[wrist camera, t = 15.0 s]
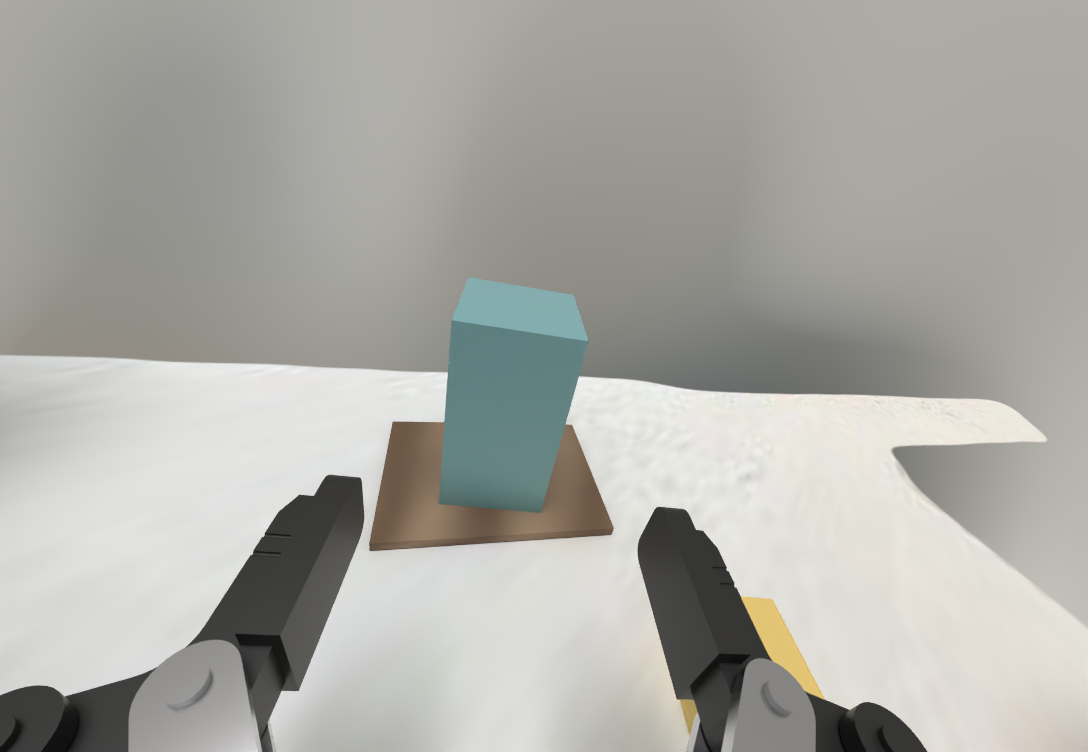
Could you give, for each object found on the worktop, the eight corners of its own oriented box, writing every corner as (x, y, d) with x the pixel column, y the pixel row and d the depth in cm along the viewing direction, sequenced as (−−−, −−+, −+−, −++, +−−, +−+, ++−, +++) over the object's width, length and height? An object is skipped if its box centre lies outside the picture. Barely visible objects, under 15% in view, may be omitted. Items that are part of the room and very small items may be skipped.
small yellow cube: (690, 740, 16) (732, 702, 14) (662, 635, 19) (692, 592, 17) (776, 743, 17) (828, 706, 15) (734, 640, 20) (772, 599, 18)
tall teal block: (438, 504, 23) (451, 320, 17) (454, 435, 28) (468, 277, 22) (540, 512, 24) (588, 341, 18) (537, 445, 29) (573, 294, 23)
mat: (369, 550, 20) (369, 543, 20) (392, 427, 28) (392, 421, 28) (611, 534, 24) (613, 528, 24) (570, 430, 32) (571, 424, 32)
